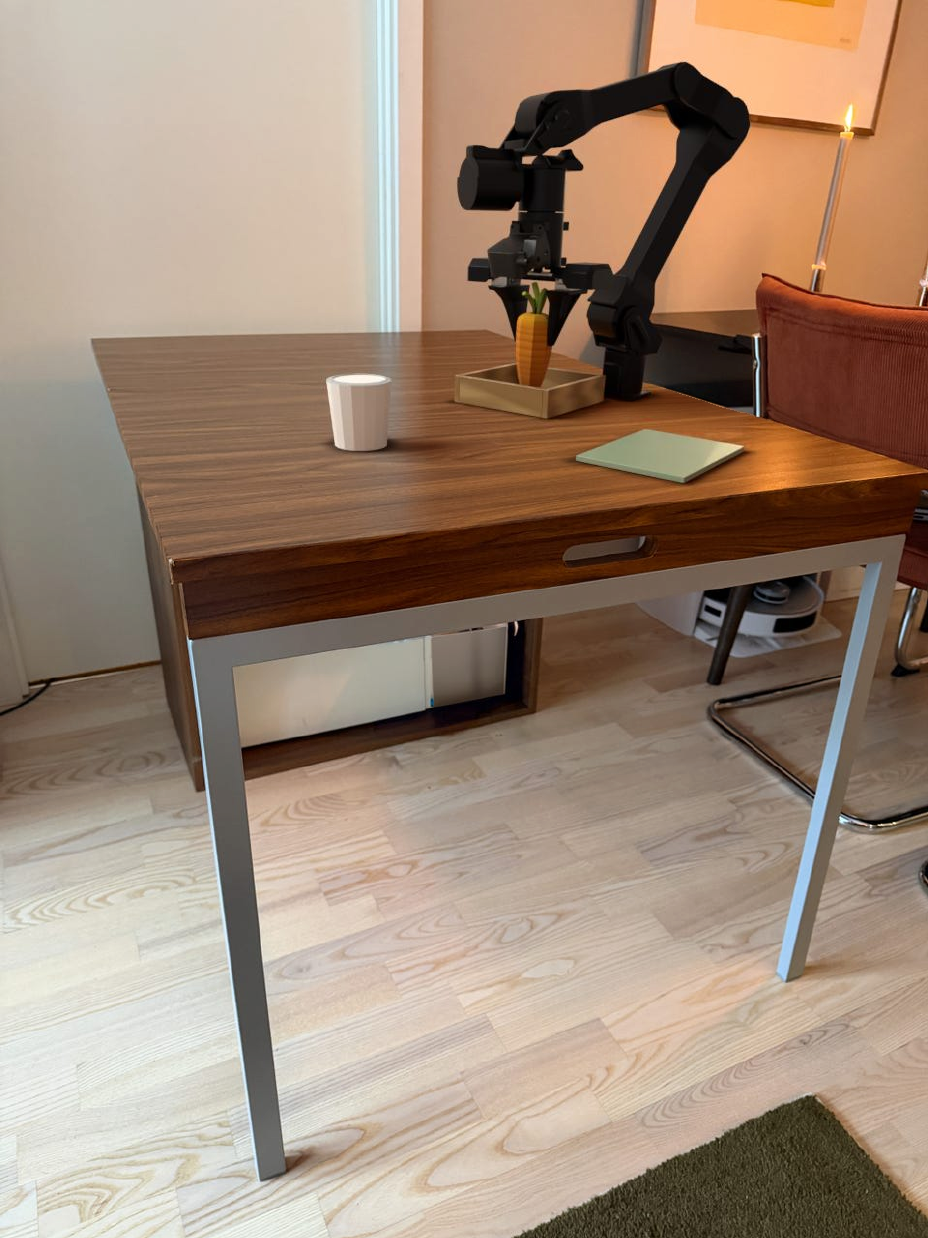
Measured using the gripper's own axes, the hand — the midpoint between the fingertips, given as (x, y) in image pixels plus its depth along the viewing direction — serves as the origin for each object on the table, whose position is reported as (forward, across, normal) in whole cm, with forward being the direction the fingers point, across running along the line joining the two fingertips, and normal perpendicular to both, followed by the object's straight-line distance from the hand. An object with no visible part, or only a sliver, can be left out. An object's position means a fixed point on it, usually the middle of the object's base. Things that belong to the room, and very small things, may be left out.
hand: (534, 343), depth 110 cm
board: (+8, +26, -14) cm, 30 cm away
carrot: (+8, 0, 0) cm, 8 cm away
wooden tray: (+8, 0, 0) cm, 8 cm away
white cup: (+8, -1, -32) cm, 33 cm away
